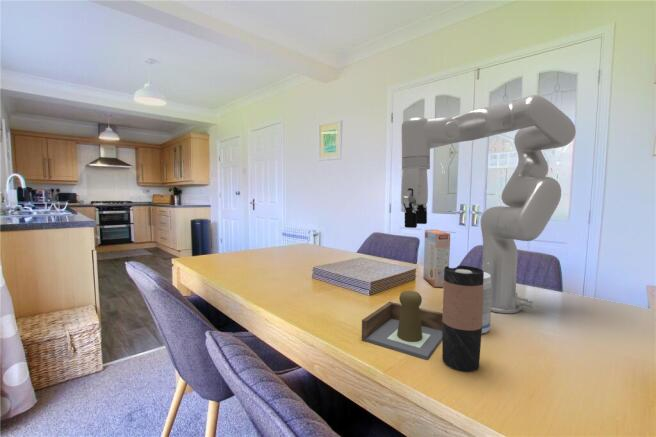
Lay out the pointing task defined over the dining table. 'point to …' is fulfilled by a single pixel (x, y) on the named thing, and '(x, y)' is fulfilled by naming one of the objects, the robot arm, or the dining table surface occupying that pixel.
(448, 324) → the travel mug
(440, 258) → the cracker box
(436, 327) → the walls
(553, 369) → the dining table surface
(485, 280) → the supplement tub
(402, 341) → the mat
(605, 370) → the dining table surface
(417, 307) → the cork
